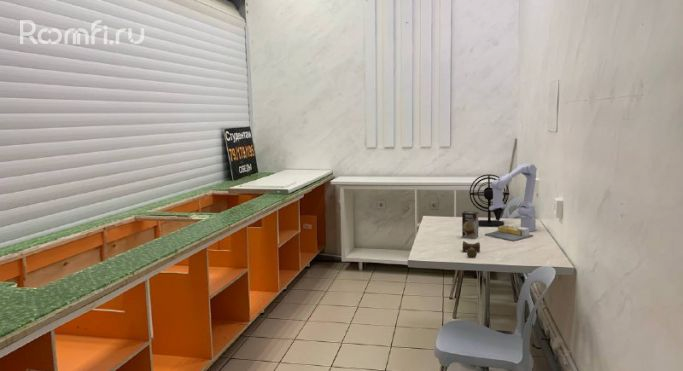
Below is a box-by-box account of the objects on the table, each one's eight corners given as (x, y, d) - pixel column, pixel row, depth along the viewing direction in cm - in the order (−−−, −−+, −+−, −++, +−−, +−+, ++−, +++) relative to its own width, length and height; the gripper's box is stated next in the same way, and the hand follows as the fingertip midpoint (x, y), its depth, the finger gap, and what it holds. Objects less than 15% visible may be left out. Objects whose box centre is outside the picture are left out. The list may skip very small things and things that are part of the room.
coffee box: (461, 237, 318) (461, 212, 316) (464, 235, 324) (464, 210, 321) (476, 238, 314) (476, 213, 312) (478, 236, 319) (478, 211, 317)
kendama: (462, 258, 274) (462, 248, 293) (480, 259, 272) (479, 249, 291) (462, 248, 273) (462, 238, 292) (481, 249, 271) (479, 239, 290)
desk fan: (508, 222, 358) (509, 173, 353) (510, 227, 341) (510, 176, 336) (469, 221, 365) (469, 173, 360) (469, 226, 348) (469, 176, 343)
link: (498, 231, 326) (498, 226, 326) (505, 229, 329) (505, 225, 329) (518, 235, 312) (518, 230, 312) (525, 234, 315) (525, 229, 315)
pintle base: (504, 230, 332) (504, 222, 331) (533, 236, 314) (533, 228, 313) (484, 235, 322) (484, 227, 321) (513, 241, 303) (513, 232, 303)
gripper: (495, 201, 311) (495, 222, 312) (510, 198, 318) (510, 219, 320) (486, 199, 316) (486, 220, 318) (501, 197, 324) (501, 217, 326)
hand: (497, 219), depth 320 cm, fingers closed
